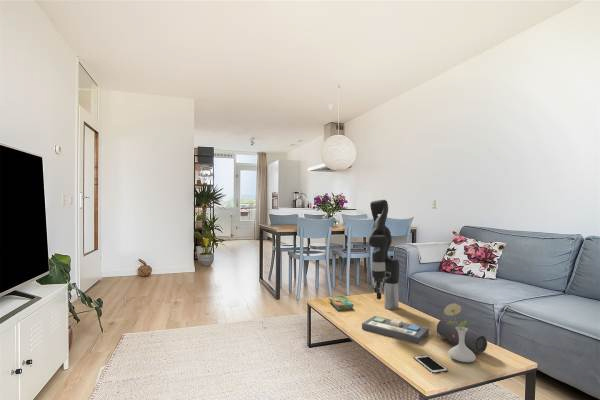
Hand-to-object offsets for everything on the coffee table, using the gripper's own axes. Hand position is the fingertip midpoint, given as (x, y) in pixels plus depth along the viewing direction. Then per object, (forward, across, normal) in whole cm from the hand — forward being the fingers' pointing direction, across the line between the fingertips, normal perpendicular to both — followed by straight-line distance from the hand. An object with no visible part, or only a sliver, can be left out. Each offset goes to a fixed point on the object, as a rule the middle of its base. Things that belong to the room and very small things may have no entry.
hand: (379, 298), depth 189 cm
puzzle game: (+16, -18, -37) cm, 44 cm away
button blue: (+15, +1, +21) cm, 25 cm away
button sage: (+15, +1, +1) cm, 15 cm away
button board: (+15, +3, +10) cm, 19 cm away
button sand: (+14, +1, +10) cm, 17 cm away
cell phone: (+16, +29, +37) cm, 50 cm away
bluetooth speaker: (+16, +1, +44) cm, 46 cm away
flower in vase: (+16, +16, +46) cm, 51 cm away
